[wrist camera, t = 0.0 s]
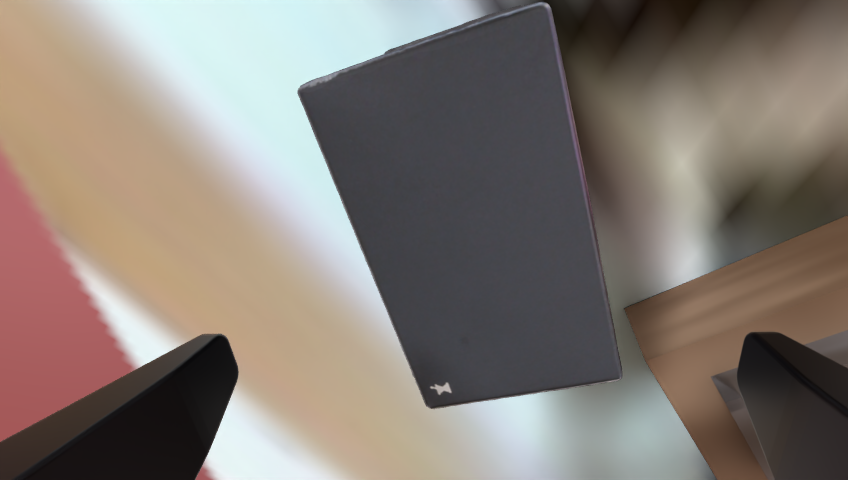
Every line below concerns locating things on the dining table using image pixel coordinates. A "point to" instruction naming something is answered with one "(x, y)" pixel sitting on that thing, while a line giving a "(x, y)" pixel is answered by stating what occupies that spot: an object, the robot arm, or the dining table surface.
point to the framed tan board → (743, 336)
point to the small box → (473, 207)
